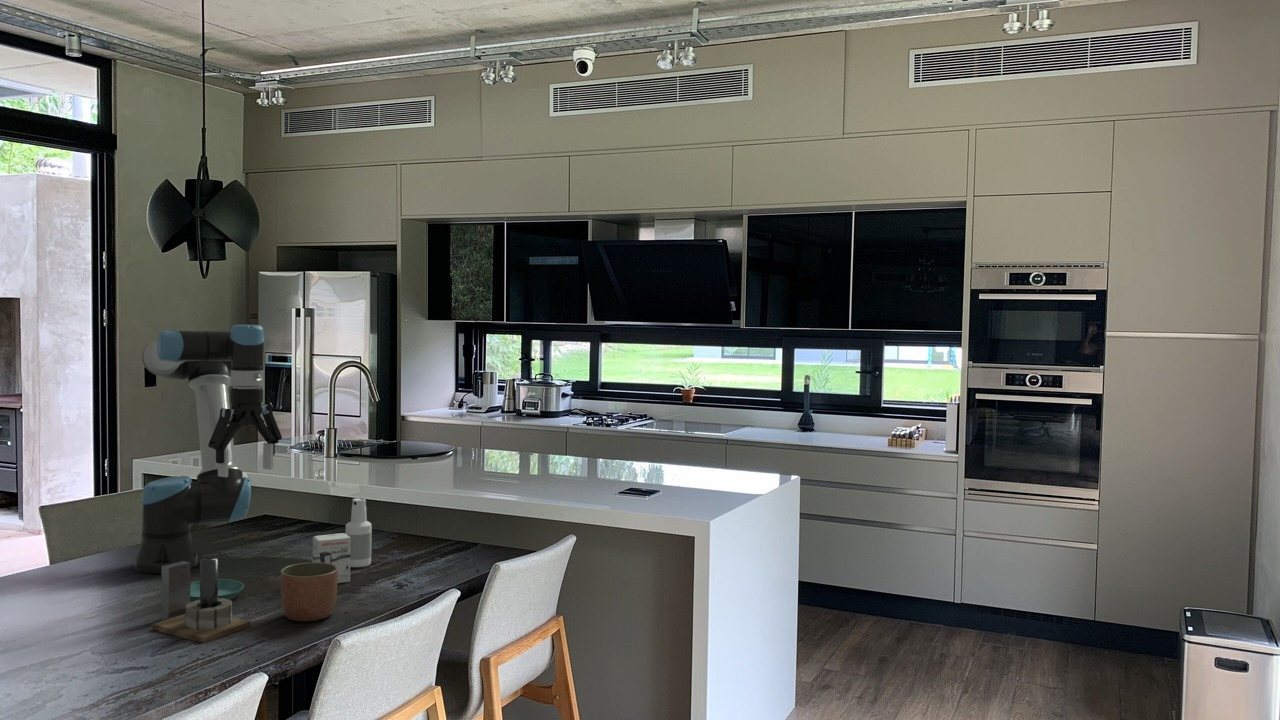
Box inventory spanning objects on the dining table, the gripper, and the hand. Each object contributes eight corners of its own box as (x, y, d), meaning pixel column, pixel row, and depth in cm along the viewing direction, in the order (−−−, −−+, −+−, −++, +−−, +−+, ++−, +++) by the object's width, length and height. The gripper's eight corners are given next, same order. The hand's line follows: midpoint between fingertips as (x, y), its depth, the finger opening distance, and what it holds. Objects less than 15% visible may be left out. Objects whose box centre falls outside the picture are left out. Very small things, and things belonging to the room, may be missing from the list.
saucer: (210, 611, 221) (211, 599, 221) (162, 602, 226) (162, 591, 226) (257, 594, 234) (257, 583, 234) (210, 586, 240) (210, 575, 239)
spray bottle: (339, 565, 261) (340, 500, 260) (356, 560, 267) (357, 496, 267) (360, 568, 259) (361, 502, 258) (376, 563, 265) (377, 498, 264)
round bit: (196, 623, 208) (196, 559, 207) (210, 618, 211) (210, 555, 210) (207, 626, 206) (207, 562, 205) (221, 621, 209) (221, 558, 209)
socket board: (152, 629, 206) (152, 605, 206) (200, 614, 217) (200, 592, 217) (203, 643, 199) (203, 618, 199) (250, 627, 210) (250, 603, 210)
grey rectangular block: (168, 621, 212) (168, 567, 211) (161, 619, 213) (161, 566, 212) (190, 614, 217) (190, 562, 216) (183, 613, 218) (183, 560, 217)
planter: (304, 629, 210) (305, 579, 209) (268, 618, 216) (268, 570, 216) (348, 614, 220) (349, 568, 220) (312, 604, 227) (313, 559, 226)
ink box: (316, 586, 242) (317, 540, 241) (311, 581, 246) (312, 535, 245) (350, 581, 246) (351, 536, 246) (345, 577, 251) (345, 532, 250)
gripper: (214, 391, 224) (213, 481, 225) (297, 385, 246) (295, 467, 247) (192, 389, 227) (191, 478, 228) (276, 383, 249) (275, 464, 250)
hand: (246, 472), depth 238 cm, fingers open, 13 cm apart
